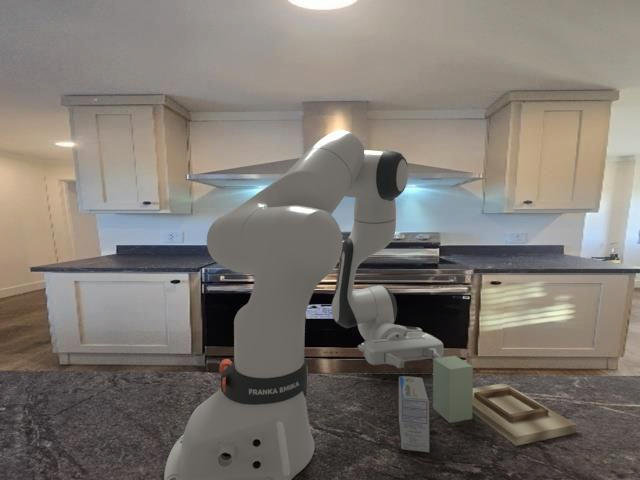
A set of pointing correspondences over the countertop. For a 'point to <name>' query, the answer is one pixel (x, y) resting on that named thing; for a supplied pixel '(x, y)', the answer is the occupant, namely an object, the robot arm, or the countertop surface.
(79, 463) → the countertop surface
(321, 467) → the countertop surface
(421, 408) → the medicine box
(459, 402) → the sage block
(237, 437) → the robot arm
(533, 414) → the birch board
